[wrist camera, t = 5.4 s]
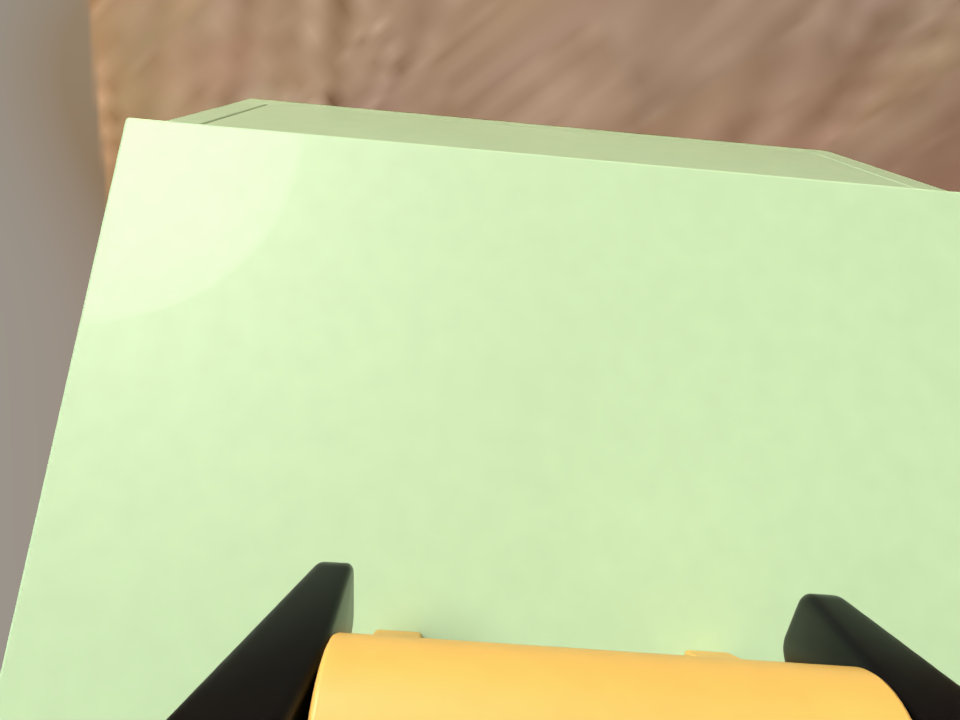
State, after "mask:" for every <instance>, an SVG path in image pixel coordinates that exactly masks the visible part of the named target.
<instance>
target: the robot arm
mask: <svg viewBox="0 0 960 720" xmlns="http://www.w3.org/2000/svg"><path fill="white" fill-rule="evenodd" d="M353 618H354V571H353V567H352V565H350V564H349V563H341V562H325V561H324V562H320V563H318V564H316V565H315V566H314V567H313V568H312V569H311V570H310V571H309V572H308V574H307V575H306V576H305V577H304V578H303V579H302V580H301V581H300V582H299V583H298V584H297V585H296V586H295V587H294V588H293V589H292V590H291V591H290V592H289V593H288V594H287V595H286V596H285V597H284V598H283V599H282V600H281V601H280V602H279V603H278V605H277V606H276V607H275V608H274V609H273V610H272V611H271V612H270V613H269V614H268V615H267V616H266V617H265V618H264V619H263V620H262V621H261V622H260V623H259V624H258V625H257V626H256V627H255V628H254V629H253V630H252V631H251V632H250V633H249V634H248V635H247V637H246V638H245V639H244V640H243V641H242V642H241V643H240V644H239V645H238V646H237V647H236V648H235V649H234V650H233V651H232V652H231V653H230V654H229V655H228V656H227V657H226V658H225V659H224V660H223V661H222V662H221V663H220V664H219V665H218V666H217V668H216V669H215V670H214V671H213V672H212V673H211V674H210V675H209V676H208V677H207V678H206V679H205V680H204V681H203V682H202V683H201V684H200V685H199V686H198V687H197V688H196V689H195V690H194V691H193V692H192V693H191V694H190V695H189V696H188V697H187V699H186V700H185V701H184V702H183V703H182V704H181V705H180V706H179V707H178V708H177V709H176V710H175V711H174V712H173V713H172V714H171V715H170V716H169V717H168V718H167V719H166V720H308V715H309V710H310V704H311V699H312V694H313V690H314V685H315V681H316V677H317V673H318V669H319V665H320V662H321V659H322V656H323V653H324V650H325V648H326V646H327V644H328V642H329V640H330V638H331V636H332V635H333V634H336V633H338V632H341V633H352V628H353ZM783 653H784V659H785V662H792V663H807V664H822V665H837V666H852V667H860V668H863V669H866V670H868V671H870V672H872V673H874V674H875V675H877V676H878V677H880V678H881V679H882V680H883V681H884V682H886V683H887V684H888V685H889V686H890V687H891V689H892V690H893V691H894V692H895V693H896V695H897V696H898V697H899V699H900V700H901V701H902V703H903V705H904V706H905V708H906V710H907V711H908V713H909V715H910V717H911V719H912V720H960V686H959V685H958V684H957V683H955V682H954V681H953V680H951V679H950V678H949V677H947V676H946V675H945V674H943V673H942V672H941V671H939V670H938V669H937V668H935V667H934V666H933V665H931V664H930V663H929V662H927V661H926V660H925V659H923V658H922V657H921V656H919V655H918V654H917V653H915V652H914V651H913V650H911V649H910V648H909V647H907V646H906V645H905V644H903V643H902V642H901V641H899V640H898V639H897V638H895V637H894V636H893V635H891V634H890V633H889V632H887V631H886V630H885V629H883V628H882V627H881V626H879V625H878V624H877V623H875V622H874V621H873V620H871V619H870V618H869V617H867V616H866V615H865V614H863V613H862V612H861V611H859V610H858V609H857V608H855V607H854V606H853V605H851V604H850V603H849V602H847V601H846V600H844V599H843V598H841V597H839V596H836V595H827V594H812V593H809V594H805V595H804V596H803V597H802V598H801V599H800V600H799V602H798V605H797V607H796V610H795V612H794V615H793V617H792V620H791V622H790V625H789V627H788V630H787V632H786V635H785V638H784V643H783Z"/></svg>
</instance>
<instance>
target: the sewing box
mask: <svg viewBox="0 0 960 720" xmlns="http://www.w3.org/2000/svg"><path fill="white" fill-rule="evenodd" d="M168 121H171V122H182V123H193V124H204V125H215V126H226V127H238V128H249V129H260V130H271V131H282V132H293V133H304V134H316V135H327V136H338V137H349V138H360V139H371V140H382V141H393V142H405V143H416V144H427V145H438V146H449V147H460V148H471V149H483V150H494V151H505V152H516V153H527V154H538V155H549V156H561V157H572V158H583V159H594V160H605V161H616V162H627V163H638V164H650V165H661V166H672V167H683V168H694V169H705V170H716V171H728V172H739V173H750V174H761V175H772V176H783V177H794V178H805V179H817V180H828V181H839V182H850V183H861V184H872V185H883V186H895V187H906V188H917V189H928V190H939V191H946V190H943V189H940V188H937V187H934V186H931V185H928V184H925V183H922V182H919V181H916V180H913V179H909V178H906V177H903V176H900V175H897V174H894V173H891V172H888V171H885V170H882V169H879V168H876V167H873V166H870V165H867V164H864V163H861V162H858V161H855V160H852V159H849V158H846V157H843V156H840V155H837V154H834V153H831V152H828V151H819V150H809V149H798V148H787V147H776V146H765V145H754V144H743V143H732V142H721V141H710V140H699V139H688V138H677V137H666V136H655V135H644V134H633V133H622V132H611V131H600V130H589V129H578V128H567V127H556V126H545V125H534V124H523V123H512V122H502V121H491V120H480V119H469V118H458V117H447V116H436V115H425V114H414V113H403V112H392V111H381V110H370V109H359V108H348V107H337V106H326V105H315V104H304V103H293V102H282V101H271V100H260V99H248V100H244V101H241V102H237V103H234V104H230V105H226V106H222V107H218V108H214V109H210V110H207V111H203V112H199V113H195V114H191V115H187V116H183V117H180V118H176V119H172V120H168Z"/></svg>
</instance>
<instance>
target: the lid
mask: <svg viewBox="0 0 960 720" xmlns="http://www.w3.org/2000/svg"><path fill="white" fill-rule="evenodd" d="M324 561H325V562H341V563H349V564H350V565H352V567H353V571H354V618H353V628H352V633H341V632H338V633H336V634H333V635H332V636H331V638H330V640H329V642H328V644H327V646H326V648H325V650H324V653H323V656H322V659H321V662H320V665H319V669H318V673H317V677H316V681H315V685H314V690H313V694H312V699H311V704H310V710H309V715H308V720H912V719H911V717H910V715H909V713H908V711H907V710H906V708H905V706H904V705H903V703H902V701H901V700H900V699H899V697H898V696H897V695H896V693H895V692H894V691H893V690H892V689H891V687H890V686H889V685H888V684H887V683H886V682H884V681H883V680H882V679H881V678H880V677H878V676H877V675H875V674H874V673H872V672H870V671H868V670H866V669H863V668H860V667H852V666H837V665H822V664H807V663H792V662H785V659H784V653H783V643H784V638H785V635H786V632H787V630H788V627H789V625H790V622H791V620H792V617H793V615H794V612H795V610H796V607H797V605H798V602H799V600H800V599H801V598H802V597H803V596H804V595H805V594H809V593H812V594H827V595H836V596H839V597H841V598H843V599H844V600H846V601H847V602H849V603H850V604H851V605H853V606H854V607H855V608H857V609H858V610H859V611H861V612H862V613H863V614H865V615H866V616H867V617H869V618H870V619H871V620H873V621H874V622H875V623H877V624H878V625H879V626H881V627H882V628H883V629H885V630H886V631H887V632H889V633H890V634H891V635H893V636H894V637H895V638H897V639H898V640H899V641H901V642H902V643H903V644H905V645H906V646H907V647H909V648H910V649H911V650H913V651H914V652H915V653H917V654H918V655H919V656H921V657H922V658H923V659H925V660H926V661H927V662H929V663H930V664H931V665H933V666H934V667H935V668H937V669H938V670H939V671H941V672H942V673H943V674H945V675H946V676H947V677H949V678H950V679H951V680H953V681H954V682H955V683H957V684H958V685H959V686H960V192H950V191H939V190H928V189H917V188H906V187H895V186H883V185H872V184H861V183H850V182H839V181H828V180H817V179H805V178H794V177H783V176H772V175H761V174H750V173H739V172H728V171H716V170H705V169H694V168H683V167H672V166H661V165H650V164H638V163H627V162H616V161H605V160H594V159H583V158H572V157H561V156H549V155H538V154H527V153H516V152H505V151H494V150H483V149H471V148H460V147H449V146H438V145H427V144H416V143H405V142H393V141H382V140H371V139H360V138H349V137H338V136H327V135H316V134H304V133H293V132H282V131H271V130H260V129H249V128H238V127H226V126H215V125H204V124H193V123H182V122H171V121H160V120H149V119H137V118H127V119H126V122H125V126H124V131H123V135H122V139H121V144H120V148H119V153H118V157H117V161H116V166H115V170H114V175H113V179H112V183H111V188H110V192H109V197H108V201H107V206H106V210H105V214H104V219H103V223H102V228H101V233H100V236H99V241H98V245H97V250H96V254H95V259H94V263H93V267H92V272H91V276H90V281H89V285H88V290H87V294H86V298H85V303H84V307H83V312H82V316H81V320H80V325H79V329H78V334H77V338H76V343H75V347H74V351H73V356H72V360H71V364H70V369H69V374H68V379H67V382H66V387H65V391H64V396H63V400H62V404H61V409H60V413H59V418H58V422H57V427H56V431H55V435H54V440H53V444H52V449H51V453H50V457H49V462H48V466H47V471H46V475H45V479H44V484H43V489H42V493H41V497H40V501H39V506H38V510H37V515H36V519H35V524H34V528H33V532H32V537H31V541H30V546H29V550H28V554H27V559H26V563H25V568H24V572H23V577H22V581H21V586H20V590H19V594H18V599H17V603H16V607H15V612H14V616H13V621H12V625H11V629H10V634H9V638H8V643H7V647H6V651H5V656H4V660H3V665H2V669H1V674H0V720H166V719H167V718H168V717H169V716H170V715H171V714H172V713H173V712H174V711H175V710H176V709H177V708H178V707H179V706H180V705H181V704H182V703H183V702H184V701H185V700H186V699H187V697H188V696H189V695H190V694H191V693H192V692H193V691H194V690H195V689H196V688H197V687H198V686H199V685H200V684H201V683H202V682H203V681H204V680H205V679H206V678H207V677H208V676H209V675H210V674H211V673H212V672H213V671H214V670H215V669H216V668H217V666H218V665H219V664H220V663H221V662H222V661H223V660H224V659H225V658H226V657H227V656H228V655H229V654H230V653H231V652H232V651H233V650H234V649H235V648H236V647H237V646H238V645H239V644H240V643H241V642H242V641H243V640H244V639H245V638H246V637H247V635H248V634H249V633H250V632H251V631H252V630H253V629H254V628H255V627H256V626H257V625H258V624H259V623H260V622H261V621H262V620H263V619H264V618H265V617H266V616H267V615H268V614H269V613H270V612H271V611H272V610H273V609H274V608H275V607H276V606H277V605H278V603H279V602H280V601H281V600H282V599H283V598H284V597H285V596H286V595H287V594H288V593H289V592H290V591H291V590H292V589H293V588H294V587H295V586H296V585H297V584H298V583H299V582H300V581H301V580H302V579H303V578H304V577H305V576H306V575H307V574H308V572H309V571H310V570H311V569H312V568H313V567H314V566H315V565H316V564H318V563H320V562H324Z"/></svg>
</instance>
